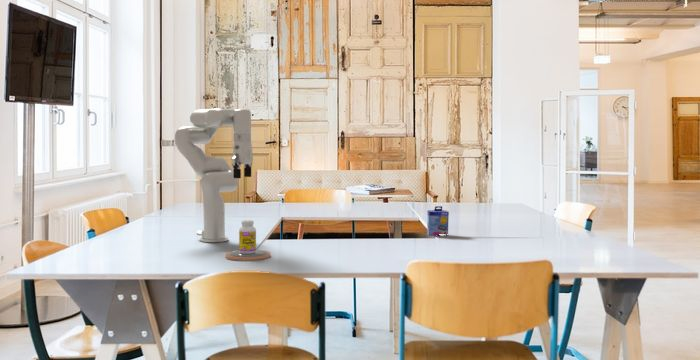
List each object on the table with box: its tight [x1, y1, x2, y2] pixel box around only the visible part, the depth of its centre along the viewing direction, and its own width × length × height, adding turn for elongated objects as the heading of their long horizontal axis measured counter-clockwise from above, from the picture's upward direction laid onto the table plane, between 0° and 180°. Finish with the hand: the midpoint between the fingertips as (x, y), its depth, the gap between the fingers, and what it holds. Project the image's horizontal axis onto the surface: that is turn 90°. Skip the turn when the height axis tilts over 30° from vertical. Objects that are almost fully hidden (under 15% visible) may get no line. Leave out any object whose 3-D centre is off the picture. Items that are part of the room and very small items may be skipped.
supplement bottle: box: [238, 219, 257, 254], centre depth 257 cm, size 7×7×13 cm
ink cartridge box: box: [426, 205, 450, 237], centre depth 313 cm, size 10×6×14 cm, turn 94°
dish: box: [224, 249, 272, 262], centre depth 257 cm, size 18×18×1 cm
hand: (242, 177), depth 279 cm, fingers open, 9 cm apart
